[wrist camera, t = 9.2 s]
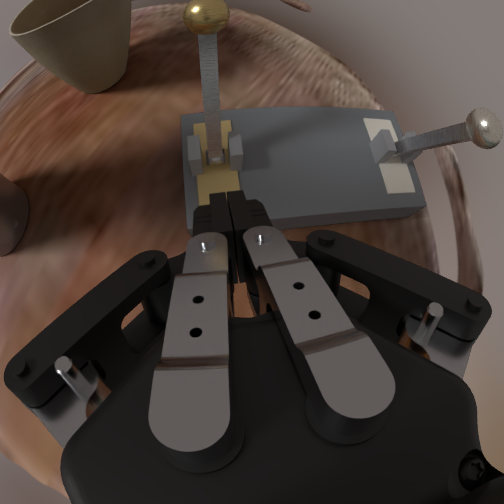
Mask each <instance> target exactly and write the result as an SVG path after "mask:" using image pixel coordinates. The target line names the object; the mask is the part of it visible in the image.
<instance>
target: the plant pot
mask: <svg viewBox="0 0 504 504" xmlns="http://www.w3.org/2000/svg"><path fill="white" fill-rule="evenodd" d="M130 29H131V0H32V1H31V2H29V3H28V4H27V6H25V7H24V8H23V9H22V10H21V11H20V12H19V14H18V15H17V16H16V17H15V18H14V20H13V21H12V23H11V25H10V28H9V33H10V35H11V36H12V37H13V38H14V39H15V40H16V41H17V42H18V43H19V44H20V45H21V46H22V47H23V48H24V49H25V50H26V51H27V52H28V53H29V54H30V55H31V56H32V57H33V58H34V59H35V60H37V61H38V62H39V63H40V64H41V65H43V66H44V67H45V68H46V69H48V70H49V71H50V72H52V73H53V74H54V75H56V76H57V77H59V78H60V79H62V80H63V81H65V82H66V83H68V84H70V85H71V86H73V87H75V88H76V89H78V90H80V91H82V92H84V93H88V94H93V93H98V92H101V91H104V90H106V89H108V88H110V87H111V86H113V85H114V84H115V83H117V82H118V81H119V80H120V79H121V77H122V76H123V75H124V73H125V71H126V66H127V59H128V51H129V42H130Z"/></svg>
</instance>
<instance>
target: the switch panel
mask: <svg viewBox="0 0 504 504" xmlns="http://www.w3.org/2000/svg"><path fill="white" fill-rule="evenodd" d="M220 118H221V136H222V148H224V151H225V163H224V164H215V165H207V160H206V150H208V147H207V137H206V127H205V116H204V112H202V113H194V114H186V115H181V134H182V157H183V175H184V191H185V205H186V218H187V229H188V231H189V233H190V235H191V237H193V211H194V210H195V209H196V208H197V207H198V206H200V205H208V204H210V200H209V194H211V193H219V192H225V193H226V198H227V191H236V190H243V192H244V194H245V197H246V200H252V199H257V200H258V201H260V202H261V203H263V205H264V207H265V210H266V212H267V215H268V216H269V218H270V221H271V223H272V225H273V227H274V228H277V229H279V230H283V229H292V228H301V227H310V226H320V225H329V224H339V223H349V222H359V221H369V220H379V219H389V218H400V217H408V216H410V215H412V214H413V213H415V212H417V211H419V210H420V209H422V208H424V207H425V206H427V205H426V202H425V198H424V195H423V192H422V188H421V185H420V182H419V179H418V176H417V172H416V169H415V166H414V164H413V160H414V159H415V158H416V157H418V156H419V155H420V154H421V153H422V151H417V152H413V153H408V154H404V155H402V156H401V157H393V156H392V155H393V154H394V153H395V152H396V151H397V149H396V146H395V143H394V142H397V141H400V140H403V139H407V138H410V137H413V136H416V134H415V132H410V131H408V132H407V133H406V134H405V135H404V136H403V134H402V131H401V129H400V126H399V124H398V122H397V119H396V117H395V115H394V112H391V111H382V110H371V109H358V108H340V107H264V108H246V109H232V110H221V111H220Z"/></svg>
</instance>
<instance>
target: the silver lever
mask: <svg viewBox="0 0 504 504" xmlns="http://www.w3.org/2000/svg"><path fill="white" fill-rule="evenodd" d="M502 132H503V130H502V125H501V122H500V120H499V118H498V117H497V116H496V115H495V113H493V112H492V111H490V110H489V109H486V108H476V109H474V110H472V111H471V112H470V113H469V114H468V116H467V119H466V122H464V123H460V124H456V125H452V126H449V127H445V128H441V129H438V130H434V131H431V132H428V133H424V134H420V135H417V136H413V137H410V138H407V139H403V140H400V141H397V142H394V143H395V146H396V149H397V151H396V152H395V153H394V154H393V155H392V156H393V157H401V156H402V155H404V154H408V153H413V152H417V151H422V150H427V149H432V148H436V147H441V146H446V145H451V144H456V143H462V142H467V141H472V142H473V143H474V144H475V145H477V146H478V147H480V148H483V149H492V148H494V147H496V146H497V145H498V144H499V142H500V141H501V138H502Z"/></svg>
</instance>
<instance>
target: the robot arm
mask: <svg viewBox="0 0 504 504" xmlns="http://www.w3.org/2000/svg"><path fill="white" fill-rule="evenodd" d="M209 200H210V204H208V205H200V206H198V207H197V208H196V209H195V210H194V211H193V237H192V238H191V239H190V240H189V242H188V244H187V250H186V252H184V253H183V254H181V255H178V256H176V257H173V258H170V259H168V258H167V255H166V254H165V253H164V252H162V251H158V250H149V251H145V252H142V253H139V254H138V255H136V256H134V257H133V258H132V259H130V260H129V261H128V262H126V263H125V264H124V265H122V266H121V267H120V268H119V269H117V270H116V271H115V272H113V273H112V274H111V275H110V276H108V277H107V278H106V279H104V280H103V281H102V282H101V283H99V284H98V285H97V286H96V287H94V288H93V289H92V290H91V291H89V292H88V293H87V294H86V295H84V296H83V297H82V298H81V299H79V300H78V301H77V302H76V303H75V304H73V305H72V306H71V307H70V308H69V309H67V310H66V311H65V312H64V313H63V314H61V315H60V316H59V317H58V318H57V319H55V320H54V321H53V322H52V323H51V324H50V325H49V326H47V327H46V328H45V329H44V330H43V331H42V332H40V333H39V334H38V335H37V336H36V337H35V338H34V339H33V340H31V341H30V342H29V343H28V344H27V345H26V346H25V347H24V348H23V349H22V350H20V351H19V352H18V353H17V354H16V355H15V356H14V357H13V358H12V359H11V360H10V361H9V363H8V364H7V366H6V368H5V372H4V382H5V384H6V386H7V387H8V388H9V389H10V390H11V391H12V392H13V393H14V394H15V395H16V396H17V397H18V398H19V399H20V400H21V402H22V403H23V404H24V405H25V406H26V407H27V408H28V409H29V410H30V411H31V412H32V413H33V414H35V415H36V416H37V417H38V418H39V419H40V420H41V422H42V423H43V424H44V426H45V427H46V428H47V429H48V431H49V432H50V433H51V434H52V436H53V437H54V438H55V439H56V440H57V442H58V443H59V444H60V445H61V446H62V448H63V449H64V450H63V453H62V457H61V465H60V470H61V478H62V482H63V485H64V487H65V490H66V492H67V494H68V496H69V499H70V501H71V503H72V504H504V473H502V472H500V471H498V470H497V469H495V468H494V467H493V466H491V465H490V464H489V462H488V461H487V460H486V459H485V457H484V455H483V453H482V450H481V446H480V441H479V435H478V426H477V406H476V402H475V398H474V396H473V393H472V392H471V390H470V388H469V387H468V385H467V384H466V383H465V382H464V381H463V380H462V379H463V376H464V373H465V369H466V366H467V363H468V359H469V356H470V352H471V348H472V345H473V344H474V343H475V341H476V340H477V338H478V336H479V335H480V333H481V332H482V330H483V328H484V327H485V325H486V324H487V322H488V320H489V318H490V317H491V314H492V309H491V306H490V304H489V302H488V301H487V299H486V298H485V297H483V296H482V295H481V294H479V293H478V292H476V291H473V290H471V289H469V288H467V287H465V286H463V285H461V284H458V283H456V282H454V281H452V280H449V279H447V278H445V277H443V276H441V275H438V274H436V273H434V272H432V271H429V270H427V269H425V268H423V267H420V266H418V265H416V264H413V263H411V262H409V261H406V260H404V259H402V258H399V257H397V256H394V255H392V254H390V253H387V252H385V251H382V250H380V249H377V248H375V247H373V246H370V245H368V244H365V243H363V242H360V241H358V240H355V239H353V238H350V237H347V236H345V235H342V234H340V233H337V232H334V231H330V230H317V231H313V232H311V233H310V234H309V235H308V236H307V238H306V242H299V241H291V240H287V239H286V238H285V237H284V235H283V233H282V232H281V231H280V230H279V229H277V228H274V227H273V225H272V223H271V221H270V218H269V216H268V215H267V212H266V210H265V207H264V205H263V203H261V202H260V201H258V200H257V199H252V200H246V197H245V194H244V192H243V190H236V191H227V198H226V193H225V192H219V193H211V194H209ZM28 213H29V204H28V199H27V196H26V194H25V192H24V191H23V190H22V189H21V188H20V187H18V186H17V185H15V184H14V183H13V182H11V181H10V180H8V179H7V178H6V177H4V176H3V175H2V174H0V256H4V255H6V254H8V253H9V252H11V251H12V250H13V249H14V248H15V247H16V245H17V244H18V243H19V241H20V239H21V237H22V235H23V233H24V230H25V228H26V224H27V220H28ZM236 266H237V267H236ZM237 271H238V276H239V281H240V283H243V282H246V285H247V296H248V300H249V303H250V306H251V309H252V312H253V315H254V317H252V318H240V317H235V311H234V296H233V293H234V284H236V283H238V277H237ZM341 274H343V275H345V276H347V277H349V278H351V279H354V280H356V281H358V282H360V283H362V284H364V285H365V286H366V287H367V288H368V289H369V291H370V298H369V299H367V298H365V297H363V296H361V295H359V294H357V293H355V292H353V291H351V290H348V289H346V288H344V287H342V286H340V285H339V284H340V279H341ZM140 302H141V304H142V306H143V309H144V310H143V311H142V312H141V313H140V314H139V315H138V316H137V317H136V318H134V319H133V320H132V321H131V322H130V323H129V324H128V325H127V326H126V327H125V328H124V329H123V330H122V329H121V324H122V321H123V319H124V317H125V316H126V315H127V314H128V313H129V312H130V311H131V310H133V309H134V308H135V307H136V306H137V305H138V304H139V303H140Z"/></svg>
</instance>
